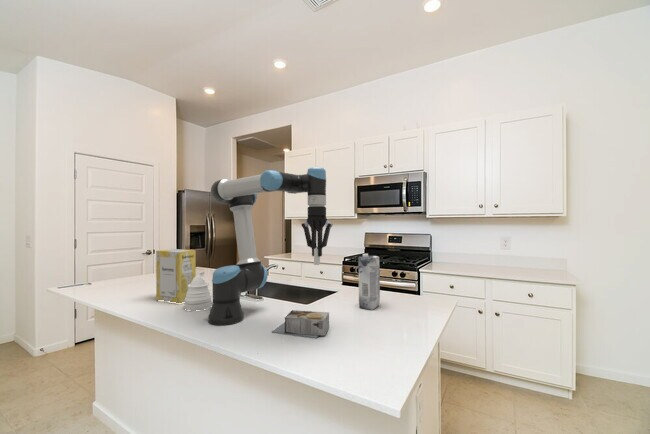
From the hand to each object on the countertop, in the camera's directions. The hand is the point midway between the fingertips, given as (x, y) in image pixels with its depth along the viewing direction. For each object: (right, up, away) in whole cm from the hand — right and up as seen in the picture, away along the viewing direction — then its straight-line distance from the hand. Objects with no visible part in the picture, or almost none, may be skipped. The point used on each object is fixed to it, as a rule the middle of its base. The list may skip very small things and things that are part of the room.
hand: (317, 264), depth 120 cm
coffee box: (+4, -23, -3) cm, 23 cm away
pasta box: (-80, -28, +46) cm, 97 cm away
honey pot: (-62, -28, +32) cm, 75 cm away
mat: (-7, -27, +1) cm, 27 cm away
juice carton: (+26, -27, +31) cm, 48 cm away
